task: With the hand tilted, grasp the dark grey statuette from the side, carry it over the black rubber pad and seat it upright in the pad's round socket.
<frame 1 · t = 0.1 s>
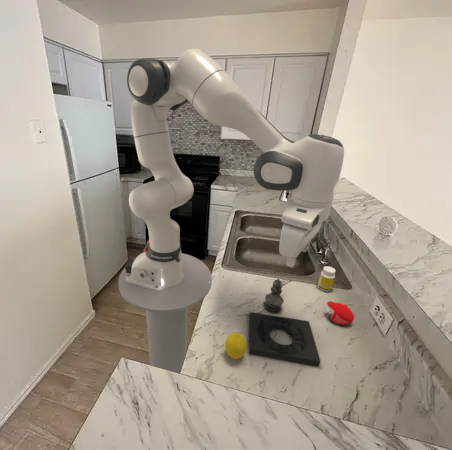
hand: (297, 257, 66), 27 cm above the countertop, tool pointing down, fingers open, 8 cm apart
pad: (280, 338, 75), on the countertop
dark grey statuette: (272, 307, 87), on the countertop
supplement bottle: (323, 287, 96), on the countertop
lemon: (234, 356, 70), on the countertop
cap: (336, 319, 82), on the countertop
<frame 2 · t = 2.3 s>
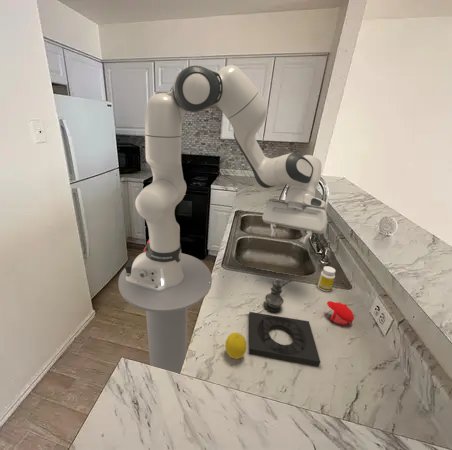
hand: (287, 240, 84), 22 cm above the countertop, tool tilted 40°, fingers open, 8 cm apart
nothing on the countertop moved.
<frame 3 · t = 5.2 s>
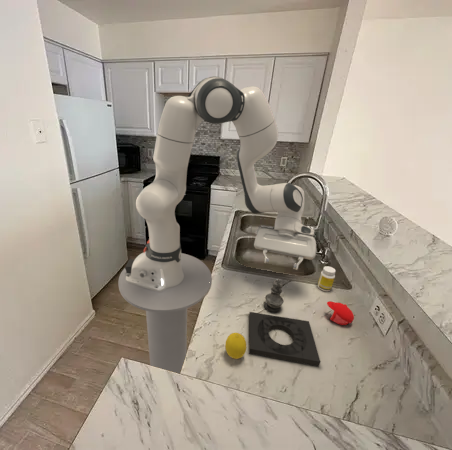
hand: (280, 266, 87), 12 cm above the countertop, tool tilted 45°, fingers open, 8 cm apart
nothing on the countertop moved.
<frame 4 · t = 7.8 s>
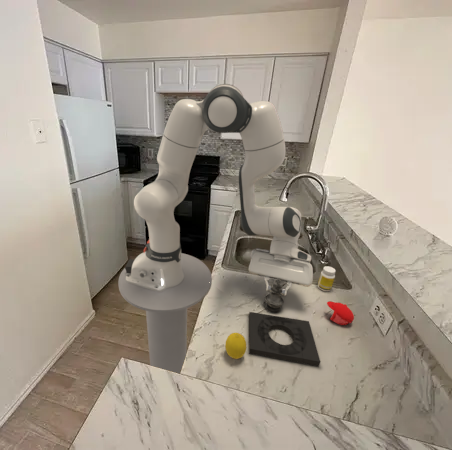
hand: (275, 293, 83), 7 cm above the countertop, tool tilted 45°, fingers closed on dark grey statuette, 3 cm apart
dark grey statuette: (272, 307, 87), on the countertop, touching gripper
everything else where it was.
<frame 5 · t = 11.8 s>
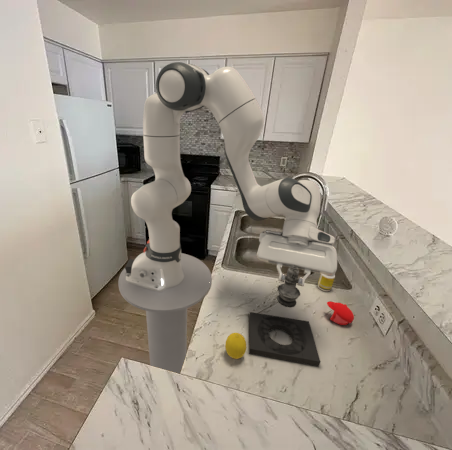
hand: (290, 283, 68), 19 cm above the countertop, tool tilted 45°, fingers closed on dark grey statuette, 3 cm apart
dark grey statuette: (286, 301, 71), point 12 cm above the countertop, touching gripper
everything else where it was.
when the fingers open (6 cm above the countertop, at t = 15.7 s): dark grey statuette stays where it is, resting in pad.
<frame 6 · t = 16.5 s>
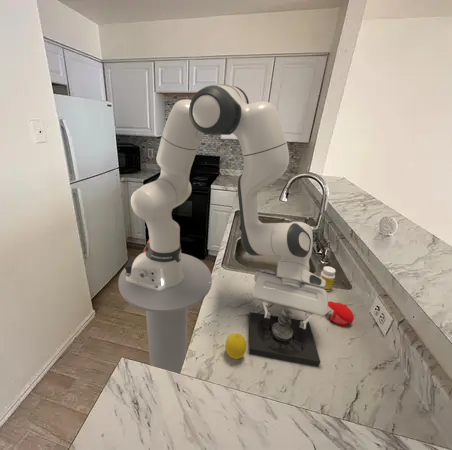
hand: (284, 323, 71), 7 cm above the countertop, tool tilted 45°, fingers open, 8 cm apart
dark grey statuette: (280, 339, 75), resting in pad
everything else where it was.
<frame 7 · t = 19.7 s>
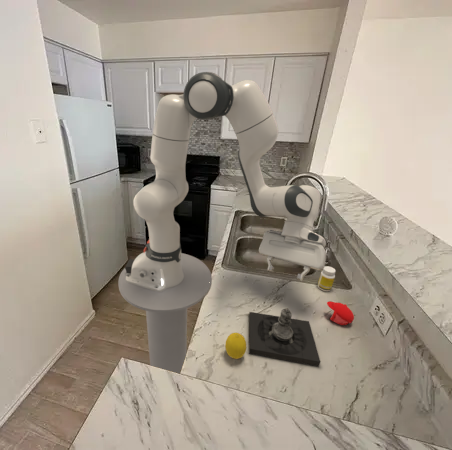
hand: (284, 275, 81), 13 cm above the countertop, tool tilted 40°, fingers open, 8 cm apart
nothing on the countertop moved.
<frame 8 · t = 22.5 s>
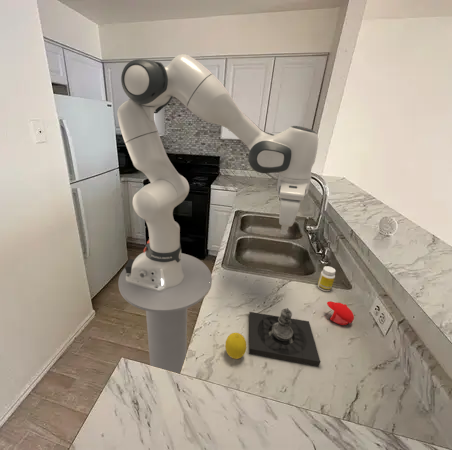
hand: (284, 227, 81), 27 cm above the countertop, tool pointing down, fingers open, 8 cm apart
nothing on the countertop moved.
at the end: dark grey statuette 0.0 cm off-centre in the pad, point 0.0 cm above the pad's base; dark grey statuette tilted 0°; the gripper is holding nothing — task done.
